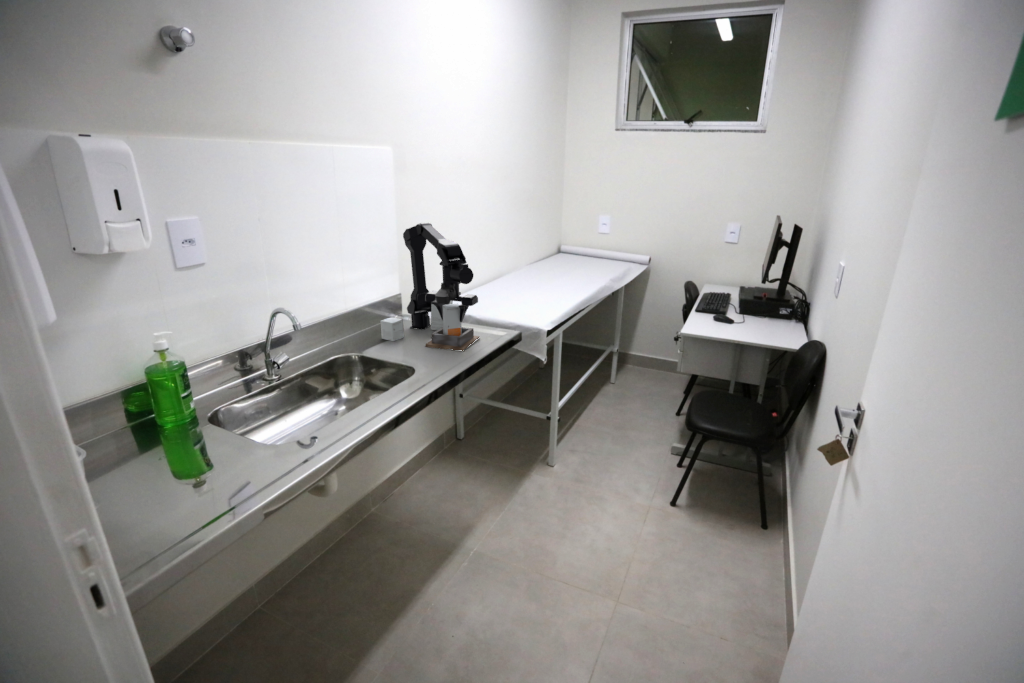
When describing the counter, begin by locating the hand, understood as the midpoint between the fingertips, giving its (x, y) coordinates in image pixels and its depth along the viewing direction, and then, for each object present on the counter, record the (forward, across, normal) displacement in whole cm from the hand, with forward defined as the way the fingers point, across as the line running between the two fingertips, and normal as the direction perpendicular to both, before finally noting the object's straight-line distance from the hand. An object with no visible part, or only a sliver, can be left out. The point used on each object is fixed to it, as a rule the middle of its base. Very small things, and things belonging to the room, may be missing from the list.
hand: (452, 320), depth 186 cm
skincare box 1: (+9, -24, -3) cm, 26 cm away
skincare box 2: (+6, 0, 0) cm, 6 cm away
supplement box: (+8, -12, +14) cm, 20 cm away
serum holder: (+8, 0, 0) cm, 8 cm away
